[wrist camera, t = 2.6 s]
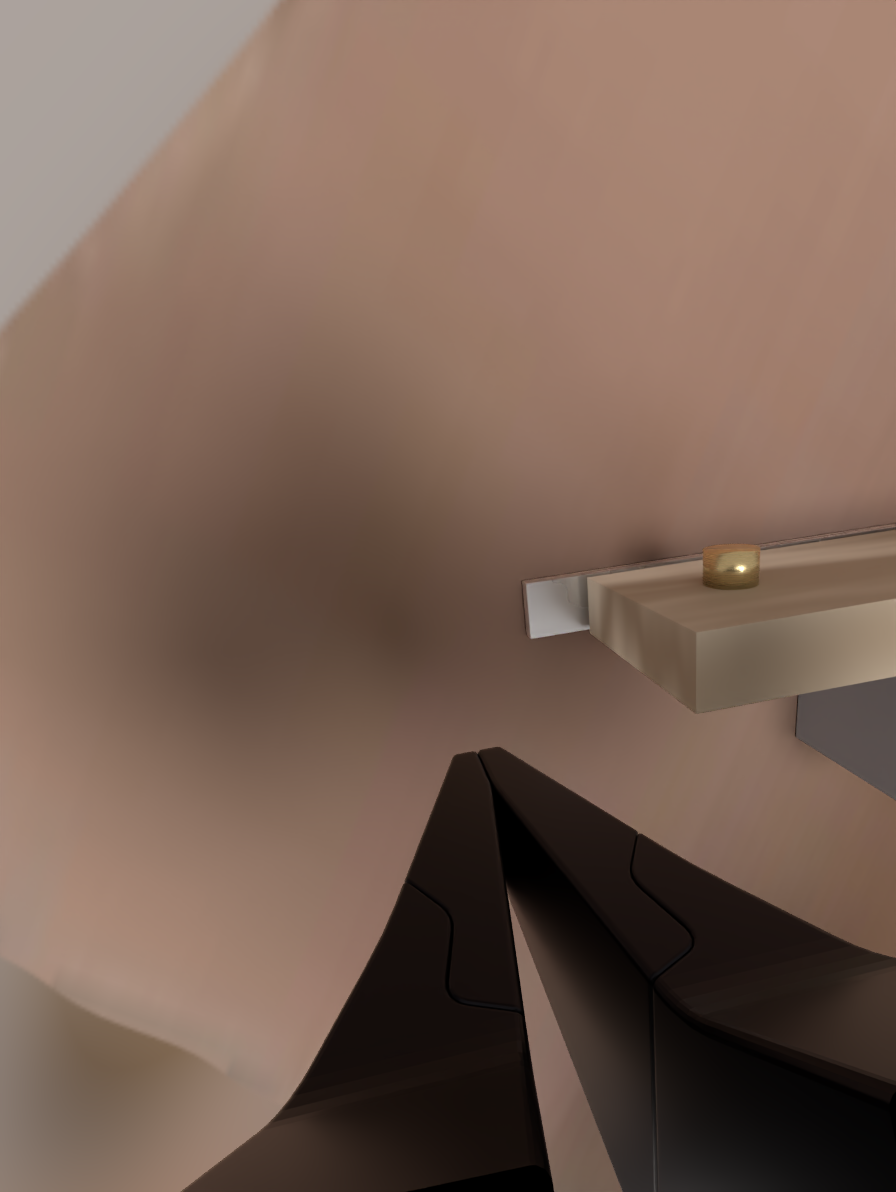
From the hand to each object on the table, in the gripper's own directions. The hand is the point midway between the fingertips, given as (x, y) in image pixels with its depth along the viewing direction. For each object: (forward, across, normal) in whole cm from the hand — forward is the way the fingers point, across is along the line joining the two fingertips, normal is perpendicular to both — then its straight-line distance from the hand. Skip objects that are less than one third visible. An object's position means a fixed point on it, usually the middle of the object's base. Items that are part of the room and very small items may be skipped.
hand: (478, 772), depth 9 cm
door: (+8, -14, -1) cm, 16 cm away
